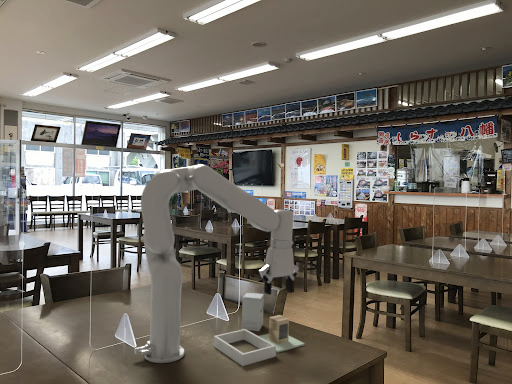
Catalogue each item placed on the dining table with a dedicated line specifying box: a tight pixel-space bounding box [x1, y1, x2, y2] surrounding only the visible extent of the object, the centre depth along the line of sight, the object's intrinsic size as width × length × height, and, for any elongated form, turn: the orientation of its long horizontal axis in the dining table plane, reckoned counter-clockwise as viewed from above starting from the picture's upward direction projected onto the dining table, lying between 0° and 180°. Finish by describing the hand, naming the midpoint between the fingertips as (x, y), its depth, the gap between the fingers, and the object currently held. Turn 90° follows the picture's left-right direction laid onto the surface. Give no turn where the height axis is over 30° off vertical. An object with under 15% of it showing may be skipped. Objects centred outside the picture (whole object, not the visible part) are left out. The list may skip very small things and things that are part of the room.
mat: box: [258, 333, 305, 353], centre depth 142 cm, size 12×14×1 cm
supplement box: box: [241, 292, 265, 332], centre depth 156 cm, size 7×7×13 cm
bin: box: [213, 329, 277, 367], centre depth 133 cm, size 13×18×4 cm
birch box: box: [268, 314, 290, 344], centre depth 142 cm, size 5×5×8 cm
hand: (278, 292), depth 141 cm, fingers open, 9 cm apart
